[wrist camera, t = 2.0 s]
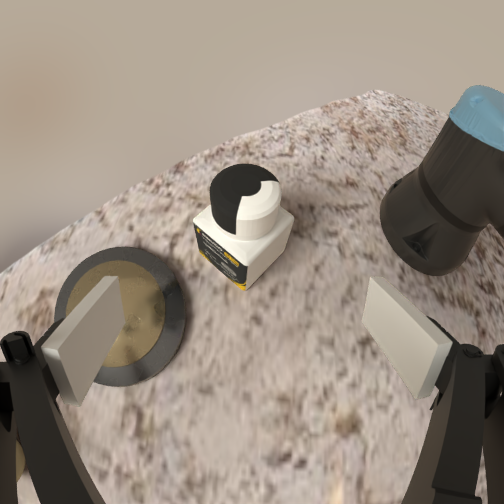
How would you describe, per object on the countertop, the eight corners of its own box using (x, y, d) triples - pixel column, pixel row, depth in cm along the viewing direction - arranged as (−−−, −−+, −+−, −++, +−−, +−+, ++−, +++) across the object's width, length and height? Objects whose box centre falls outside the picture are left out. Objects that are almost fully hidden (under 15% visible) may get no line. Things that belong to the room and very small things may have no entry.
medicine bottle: (198, 252, 35) (184, 186, 24) (240, 215, 37) (243, 143, 27) (244, 293, 33) (249, 238, 22) (285, 250, 35) (306, 184, 25)
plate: (190, 251, 35) (188, 244, 33) (184, 393, 27) (181, 393, 26) (71, 250, 34) (66, 244, 32) (51, 375, 26) (45, 373, 25)
